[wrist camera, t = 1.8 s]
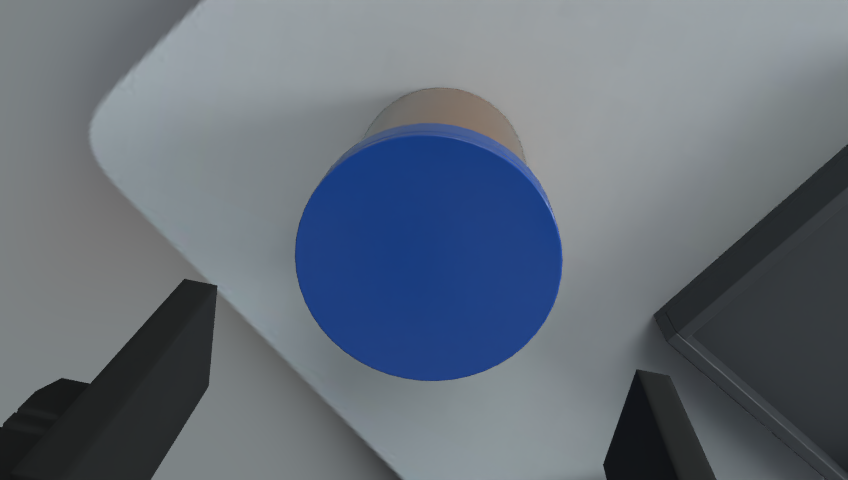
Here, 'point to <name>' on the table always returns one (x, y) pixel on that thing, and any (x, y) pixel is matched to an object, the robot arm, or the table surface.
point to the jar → (449, 115)
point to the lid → (429, 252)
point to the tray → (780, 320)
